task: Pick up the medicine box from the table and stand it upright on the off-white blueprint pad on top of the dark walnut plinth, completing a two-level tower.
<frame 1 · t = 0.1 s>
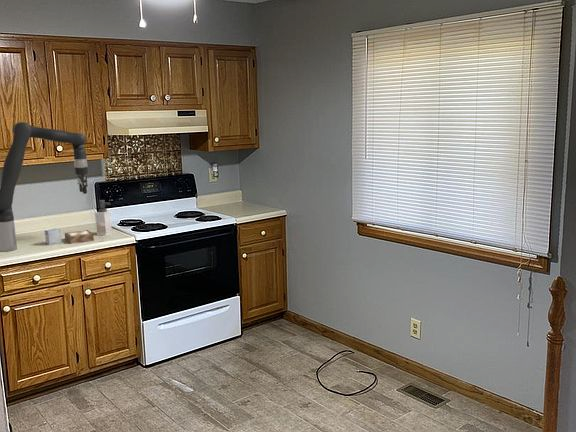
hand: (83, 192, 354), 29 cm above the countertop, tool pointing down, fingers open, 8 cm apart
walnut plinth: (79, 239, 357), on the countertop
medicine box: (53, 243, 349), on the countertop
soap dispenser: (106, 234, 372), on the countertop
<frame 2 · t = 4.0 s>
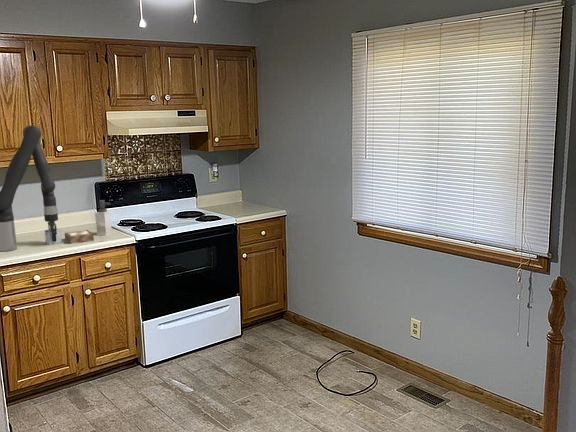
hand: (53, 240, 349), 2 cm above the countertop, tool pointing down, fingers closed on medicine box, 5 cm apart
medicine box: (53, 243, 349), on the countertop, touching gripper
everything else where it was.
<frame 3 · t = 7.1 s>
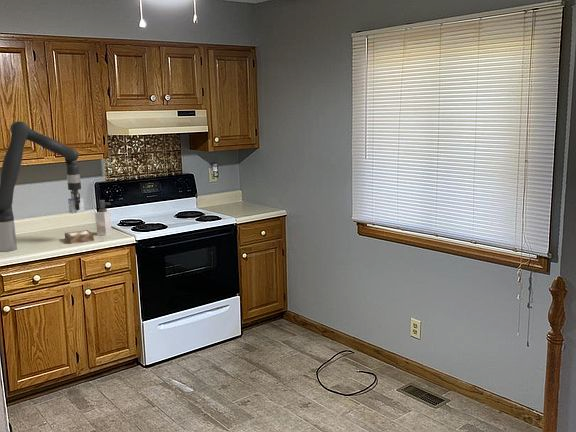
hand: (76, 209, 353), 20 cm above the countertop, tool pointing down, fingers closed on medicine box, 5 cm apart
medicine box: (76, 212, 354), point 17 cm above the countertop, touching gripper
everything else where it was.
when the fingers open (7 cm above the countertop, at t = 10.2 s): medicine box drops 1 cm, resting on walnut plinth.
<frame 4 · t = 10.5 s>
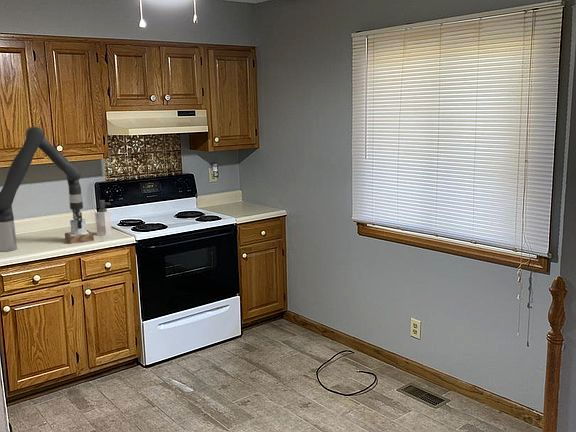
hand: (78, 227, 356), 8 cm above the countertop, tool pointing down, fingers open, 8 cm apart
medicine box: (78, 233, 356), point 4 cm above the countertop, touching walnut plinth
everything else where it was.
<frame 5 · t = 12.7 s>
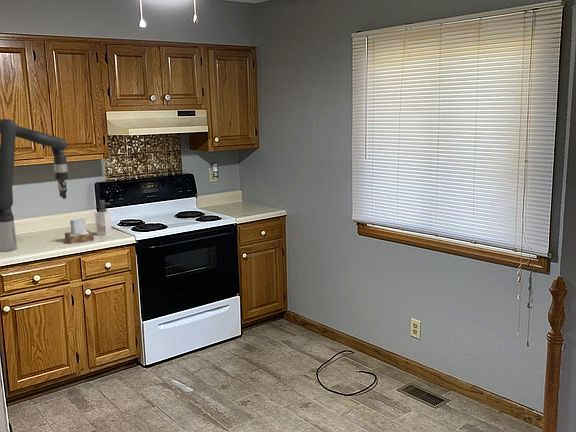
hand: (63, 197, 354), 26 cm above the countertop, tool pointing down, fingers open, 8 cm apart
nothing on the countertop moved.
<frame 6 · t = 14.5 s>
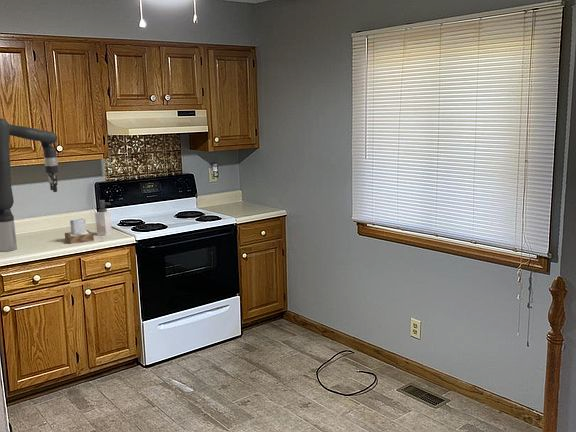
hand: (53, 191, 356), 30 cm above the countertop, tool pointing down, fingers open, 8 cm apart
nothing on the countertop moved.
at the end: medicine box inside the target area on the walnut plinth (0.2 cm from its centre), point 4.0 cm above the walnut plinth's base; medicine box tilted 0°; the gripper is holding nothing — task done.
